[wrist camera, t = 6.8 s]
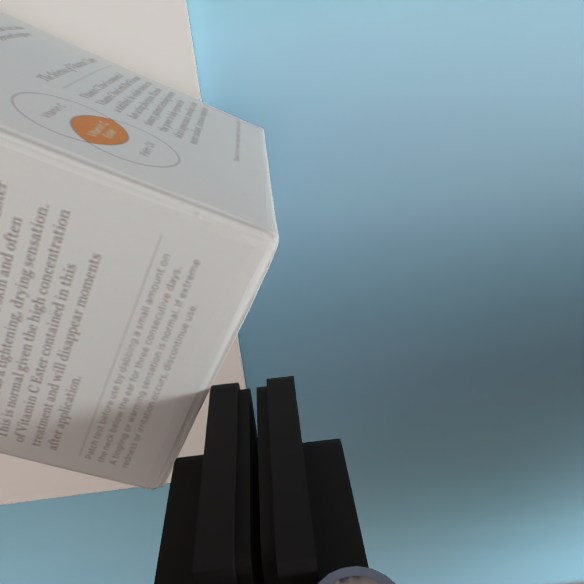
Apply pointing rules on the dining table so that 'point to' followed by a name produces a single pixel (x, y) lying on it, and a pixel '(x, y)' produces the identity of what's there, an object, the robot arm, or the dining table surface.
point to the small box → (118, 257)
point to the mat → (158, 67)
